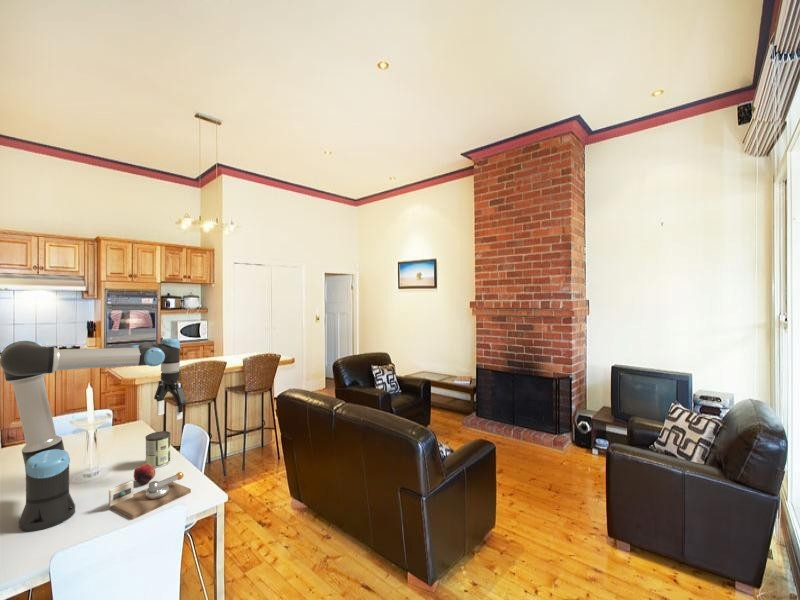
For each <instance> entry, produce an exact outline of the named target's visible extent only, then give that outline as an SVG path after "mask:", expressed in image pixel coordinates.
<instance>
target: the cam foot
mask: <svg viewBox="0 0 800 600" xmlns="http://www.w3.org/2000/svg"><path fill="white" fill-rule="evenodd" d="M183 478H184V473H183V472H182V471H178V472H177V473H176V474H174V475H172V476H169V477H167V478H165V479H162V480H159V481H158V480H154V481H149V482H148V488H149V489H148V490H147V491H146V498H147V499H158V498H161V497H164V496H166V495H167V494H168V493H169V486H168V485H166V484H168V483H171V482H175V481H177V480H178V481H180V480H182V479H183Z"/></svg>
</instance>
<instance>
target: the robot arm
mask: <svg viewBox="0 0 800 600" xmlns="http://www.w3.org/2000/svg"><path fill="white" fill-rule="evenodd" d="M160 341H161V342H160V343H154V344H153V343H152V344H151V343H149V344H136V345H131V346H130V347H117V348H116V347H112V348H107V347H106V348H76V349H75V348H74V349H73V348H70V349H66V348H65V349H64V348H63V349H58V348H57V347H56V346H41V345H40V344H39V343H38V342H35V341H31V340H18V341H15V342H13V343H10V344H8V345H7V346H6V347H4V348H3V349H2V351H1V354H0V367H1V368H2V371H3V375H4V378H5V382H7V383H9V384H11V385H12V388H13V391H14V392H13V393H14V396H15V401H16V405H17V410H18V414H19V419H20V423H21V428H22V432H23V436H24V441H25V445H24V446H23V447H22V448H21V454H22V458H23V459H22V460H23V462H24V463H23V464H24V469H25V505H24V508H23V510H22V513H21V514H20V518H19V521H18V528H19V530H21V531H23V532H34V531H40V530H45V529H48V528H51V527H54V526H57V525H59V524H61V523H64V522H66V521H68V520H69V519H71V517H73V516H74V515H75V514H76V504H75V501H74V500H73V498H72V495H71V493H70V463H71V458H70V454H69V452H68V451H67V450H65V447H64V441H63V438H62V437H61V436H59V435H57V433H56V430H55V425H54V419H53V415H52V410H51V407H50V400H49V396H48V391H47V388H46V383H45V379H44V377H46V375H47V374H53V373H56V371H62V370H63V371H64V370H66V371H67V370H81V369H84V370H85V369H99V368H100V369H101V368H102V369H103V368H117V367H119V368H121V367H135V366H138V367H140V366H142V367H143V366H148V367H158V366H160V372H161V373H160V380H159V381H158V385H157V389H156V391H155V394H154V398H153V399H154V400H156V402H157V403H156V404H157V410H156V411H157V414H156V415H157V417H158V416H163V415H165V397H166V395H167V394H168V393H170V394H171V395H172V397H173V399H174V401H175V403H176V405H175V421H178V420H182V419H183V412H184V405H186V404H187V399H186V396H185V393H184V390H183V383H182V382H179V383H178V380H180V361H181V360H180V357H181V354H180V353H181V343H180V340H179V338H173V337H172V338H170V337H168V338H162V339H161V340H160Z"/></svg>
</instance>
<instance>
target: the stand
mask: <svg viewBox="0 0 800 600" xmlns="http://www.w3.org/2000/svg"><path fill="white" fill-rule="evenodd" d="M134 483H135V481H128V482H126V483H124V484H120V485H118V486H115V487H114V488H110V489H109V490H108V506H109V507H110V508H111V509H113V510H115V511H117V512H119V513H120V514H122V515H124V516H126V517H128V518H130V519H132V520H134V519H136V518H139V517H142V516H144V515H145V514H147V513H150V512H152V511H154V510H157V509H158V508H160V507H162V506H164V505H167V504H168V503H171V502H174V501H176V500H178V499H179V498H182V497H184V496H186V495H188V494H191V492H192V491H191V490H192V488H190V487H187V486H185V485H182V484H180V483H177V482H175V481H173V482H171V483H168V484H166V485H168V486H169V493H168V494H167V495H166V496H164V497H161V498H158V499H147V498H146V491H147V490H148V489H149V487H148V488H145V489H143V490H140V491H137V492H135V493H134Z"/></svg>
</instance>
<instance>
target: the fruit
mask: <svg viewBox="0 0 800 600" xmlns="http://www.w3.org/2000/svg"><path fill="white" fill-rule="evenodd" d="M155 476H156V468H154V467H153V466H151V465H150V464H146V463H143V464H141V465H139V466H137V467H136V468H135V469H134V471H133V478H134V482H136V483H138V484H140V485H145V484H147V483H150V482H151V480H153V479H154V478H155Z"/></svg>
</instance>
